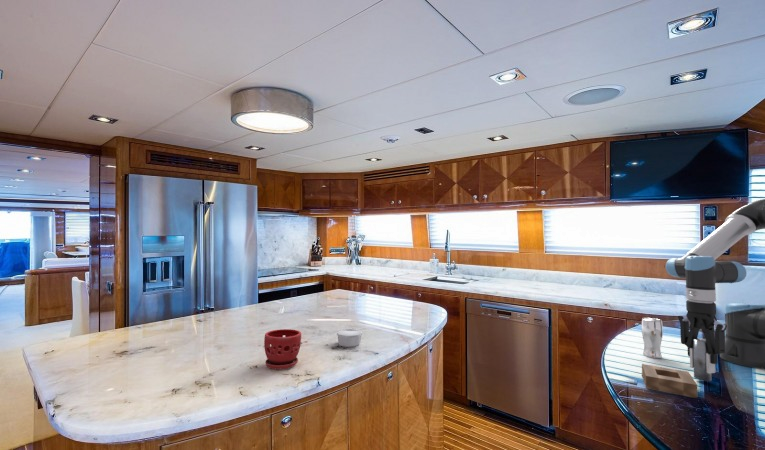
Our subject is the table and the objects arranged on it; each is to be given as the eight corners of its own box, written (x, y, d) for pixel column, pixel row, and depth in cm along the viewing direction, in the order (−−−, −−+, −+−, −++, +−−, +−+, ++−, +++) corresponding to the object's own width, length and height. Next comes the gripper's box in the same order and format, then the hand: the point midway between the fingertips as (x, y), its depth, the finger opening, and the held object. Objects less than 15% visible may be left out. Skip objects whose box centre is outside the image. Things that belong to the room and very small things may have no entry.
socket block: (688, 383, 116) (688, 371, 116) (697, 398, 105) (697, 385, 105) (642, 375, 122) (641, 363, 122) (646, 388, 112) (645, 375, 112)
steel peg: (709, 377, 118) (708, 339, 119) (713, 382, 114) (712, 342, 115) (692, 374, 120) (691, 337, 121) (695, 379, 117) (694, 340, 117)
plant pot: (299, 371, 122) (300, 336, 123) (260, 372, 120) (261, 338, 121) (301, 358, 135) (302, 327, 136) (267, 359, 133) (267, 328, 133)
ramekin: (358, 339, 161) (358, 327, 161) (364, 346, 150) (365, 334, 150) (334, 341, 157) (334, 329, 157) (339, 349, 147) (339, 336, 147)
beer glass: (667, 359, 139) (666, 321, 139) (647, 358, 140) (647, 320, 140) (657, 353, 145) (656, 317, 146) (638, 352, 147) (638, 317, 147)
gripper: (666, 297, 126) (667, 361, 125) (722, 306, 109) (724, 381, 108) (682, 296, 127) (683, 359, 127) (740, 305, 111) (742, 379, 110)
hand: (702, 369), depth 118 cm, fingers closed on steel peg, 4 cm apart
